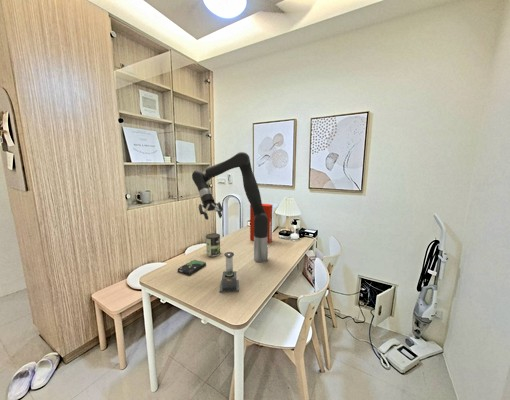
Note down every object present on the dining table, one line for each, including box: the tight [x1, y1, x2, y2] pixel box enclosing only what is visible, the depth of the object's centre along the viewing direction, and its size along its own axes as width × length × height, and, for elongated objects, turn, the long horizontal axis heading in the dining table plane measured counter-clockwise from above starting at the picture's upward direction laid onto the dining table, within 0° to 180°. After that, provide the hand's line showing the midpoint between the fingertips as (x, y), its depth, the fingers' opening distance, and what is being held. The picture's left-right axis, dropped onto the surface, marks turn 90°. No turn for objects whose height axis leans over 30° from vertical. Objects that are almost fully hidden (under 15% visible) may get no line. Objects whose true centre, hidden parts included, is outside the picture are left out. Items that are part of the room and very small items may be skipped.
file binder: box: [249, 203, 273, 244], centre depth 182 cm, size 8×17×32 cm, turn 67°
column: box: [224, 251, 235, 277], centre depth 113 cm, size 5×5×13 cm
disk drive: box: [177, 259, 207, 277], centre depth 134 cm, size 10×3×15 cm
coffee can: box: [205, 232, 221, 257], centre depth 156 cm, size 10×10×14 cm
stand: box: [219, 270, 240, 294], centre depth 114 cm, size 10×10×7 cm
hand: (214, 218), depth 127 cm, fingers open, 8 cm apart
